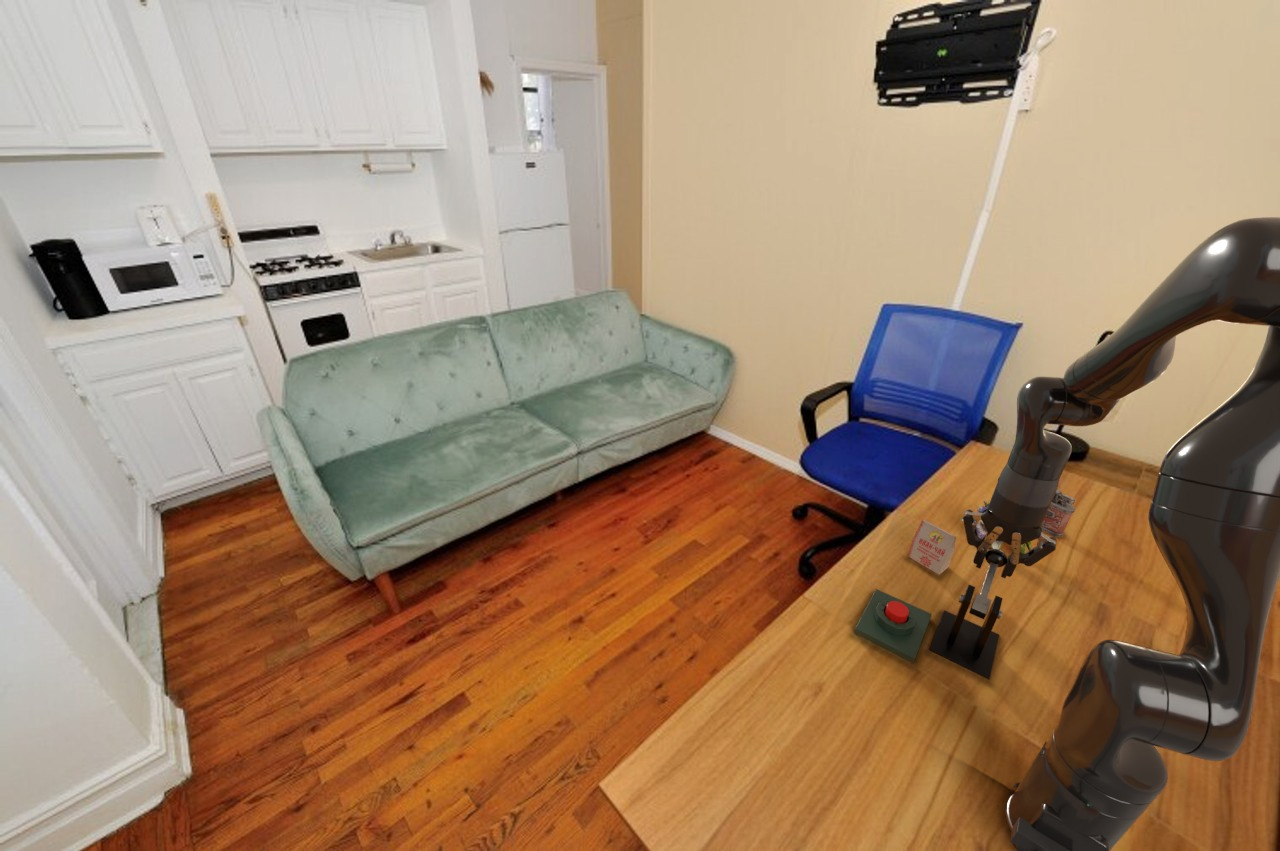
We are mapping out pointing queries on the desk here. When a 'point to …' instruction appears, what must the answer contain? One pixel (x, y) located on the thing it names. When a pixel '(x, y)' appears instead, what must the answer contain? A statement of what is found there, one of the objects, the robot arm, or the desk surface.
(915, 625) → the button block
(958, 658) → the bracket
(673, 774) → the desk surface
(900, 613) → the button
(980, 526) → the passion flower
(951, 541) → the tea bag
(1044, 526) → the lighter
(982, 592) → the switch
